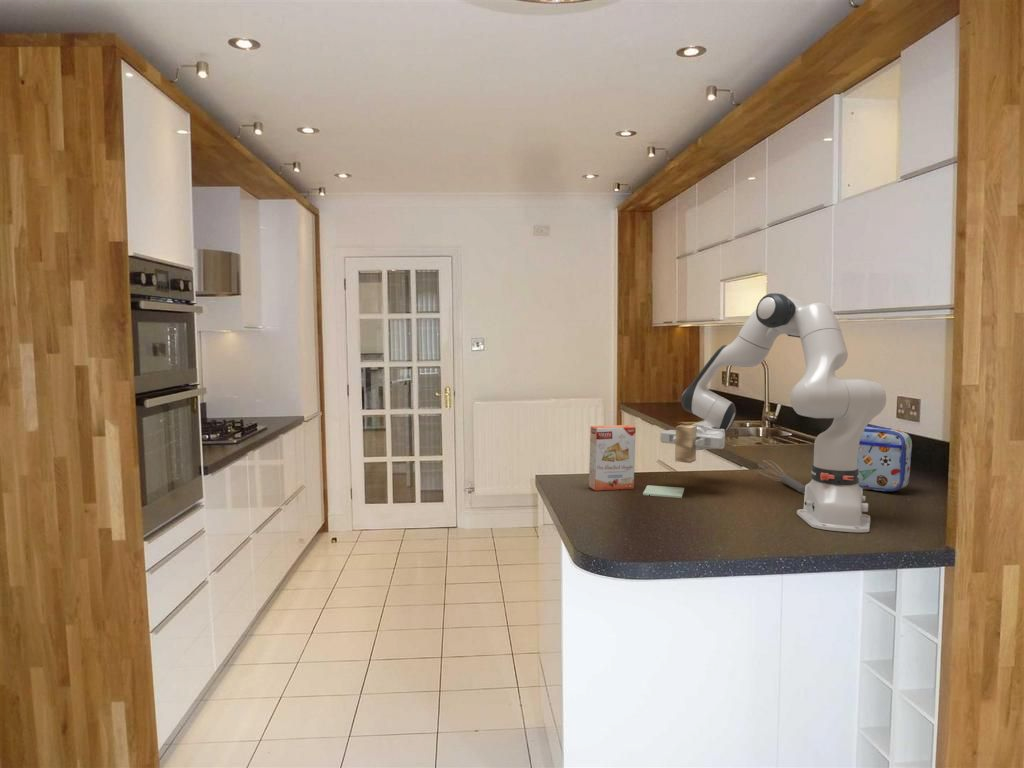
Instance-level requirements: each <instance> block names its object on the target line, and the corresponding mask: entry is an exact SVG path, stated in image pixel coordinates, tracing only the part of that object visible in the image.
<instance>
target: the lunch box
mask: <svg viewBox="0 0 1024 768" xmlns="http://www.w3.org/2000/svg"><path fill="white" fill-rule="evenodd" d="M827 429H829V427H828V428H827ZM912 448H913V442H912V438H911V436H910V435H909V434H908V433H906V432H904V431H901V430H897V429H892V428H889V427H888V428H886V427H882V426H877V425H876V426H875V425H869V424H868V425H867V426H866V428H865V430H864V432H863V434H862V436H861V439H860V443H859V449H858V460H857V469H858V470H859V483H858V485H859V486H860V487H861V488H862V489H863V490H867V491H870V490H871V491H878V492H879V491H881V492H896V491H898V490H901V489H904V488H906V487H907V486H908V484H909V481H910V474H911V473H910V472H911V459H912Z"/></svg>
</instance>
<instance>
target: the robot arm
mask: <svg viewBox="0 0 1024 768" xmlns="http://www.w3.org/2000/svg"><path fill="white" fill-rule="evenodd" d="M756 305H757V306H756V308H755V310H753V312H752V313H751V314H750V315H749V317H748V318H747V319H746V321H745V322H744V323H743V325H742V327H741V328H740V331H739V333H738V334H737V336H736V337H735V339H734V340H733V341H732V342H730V343H729V344H727V345H726V344H724V345H722V346H720V347H719V348H718V349H717V350H716V351H715V352H714V354H713V355H712V356H711V358H709V360H708V361H707V363H706V364H705V365H704V366H703V367H702V369H701V370H700V372H699V373H698V375H697V376H696V377H695V379H694V380H693V381H692V382H691V383H690V384H689V385H688V387H687V388H686V389H684V391H683V393H682V395H681V396H680V397H681V398H680V402H681V406H682V408H683V410H684V411H686V412H688V413H690V414H692V415H694V416H697V417H699V418H701V419H702V420H701V421H698V422H695V423H693V424H691V425H690V426H697V431H696V440H693V446H696V451H702V450H705V451H706V450H709V449H711V450H723V449H724V448H725V445H726V432H727V431H728V430H730V429H731V427H732V425H733V423H734V421H735V419H736V416H737V409H736V406H735V403H734V402H732V401H730V400H729V399H727V398H725V397H723V396H721V395H719V394H717V393H715V392H713V391H711V390H710V389H708V387H707V386H708V384H709V383H710V382H711V380H712V379H713V377H714V376H715V375H716V374H717V372H718V371H719V370H720V369H721V368H722V367H726V366H727V367H728V366H730V367H739V368H752V367H756V366H759V365H760V364H761V363H763V361H764V360H765V359H766V357H767V356H768V354H769V352H770V351H771V349H772V347H773V344H774V343H775V341H776V339H777V338H778V337H779V336H780V335H783V334H784V335H787V336H788V337H792V338H799V339H800V343H801V346H802V350H803V351H802V352H803V355H804V362H805V369H804V370H805V371H804V373H803V376H802V378H800V380H799V381H798V382H797V383H795V385H794V387H792V389H791V392H790V397H789V398H790V404H791V408H792V409H793V410H794V412H795V413H796V414H797V415H799V416H802V417H808V418H812V419H833V420H832V423H831V424H830V426H829V427H828V428H829V429H828V428H827V429H826V430H825V431H822V432H821V433H819V434H818V435H817V436H816V438H815V440H814V446H813V465H811V470H810V473H811V474H810V477H811V480H810V481H809V482H808V483H807V484H806V485H805V494H804V497H803V499H804V500H803V508H802V509H801V508H800V509H797V510H796V515H798V516H799V517H800V518H801V519H802V520H803V521H804V522H806V523H807V524H808V525H809V526H810V527H812V528H814V529H818V530H824V531H825V530H826V531H833V532H842V533H843V532H845V533H869V532H870V527H871V516H870V515H869V514H866V512H869V503H868V502H866V497H867V496H866V495H863V492H864V491H863V490H864V489H862V488H861V487H860V486H859V485H858V483H859V470H858V469H857V460H858V449H859V443H860V439H861V436H862V434H863V432H864V430H865V428H866V426H867V425H868V426H869V423H870V422H871V421H872V420H873V419H874V418H876V417H877V416H878V415H880V414H881V413H882V412H883V410H884V409H885V408H886V407H885V406H886V404H887V395H886V394H887V393H886V391H885V389H884V387H883V386H882V385H881V384H880V383H879V382H877V381H873V380H869V379H864V378H863V379H862V378H838V377H837V376H836V373H835V372H836V371H837V370H839V369H840V368H842V367H843V366H844V365H845V364H846V362H847V360H848V355H849V354H848V349H847V346H846V343H845V339H844V336H843V332H842V330H841V327H840V324H839V321H838V319H837V316H836V315H835V314H834V313H835V312H834V311H833V310H832V308H831V307H830V306H829V305H828V304H827V303H824V302H813V303H810V304H809V303H807V302H805V301H803V300H801V299H799V298H796V297H793V296H788V295H784V294H783V293H778V292H777V293H776V292H775V293H767V294H766V295H764V296H763V297H761V299H759V302H758V303H757V304H756ZM659 440H660V442H661V443H663V444H671V445H672V444H673V445H675V440H676V429H668V430H663V431H661V432H660V439H659ZM863 512H864V513H863Z"/></svg>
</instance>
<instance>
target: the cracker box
mask: <svg viewBox="0 0 1024 768" xmlns="http://www.w3.org/2000/svg"><path fill="white" fill-rule="evenodd" d="M589 433H590V435H589V466H588V467H589V471H588V472H589V473H588V476H589V477H588V487H589V488H590V489H591V490H593V491H595V492H596V491H597V492H598V491H599V492H601V491H616V490H617V491H618V490H619V489H620V490H633V489H634V484H635V456H636V455H635V454H636V453H635V452H636V427H635V426H633V425H631V424H630V425H629V424H621V425H619V424H618V425H617V424H616V425H613V424H611V425H590V431H589Z"/></svg>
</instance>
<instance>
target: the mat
mask: <svg viewBox="0 0 1024 768" xmlns="http://www.w3.org/2000/svg"><path fill="white" fill-rule="evenodd" d="M684 492H685V487H678V486H676V487H675V486H665V485H664V486H663V485H662V486H661V485H646V487H645V489H644V491H643V492H642V496H649V495H650V496H653V497H662V498H663V497H666V498H675V499H676V498H677V499H682V498H683V495H684Z"/></svg>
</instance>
